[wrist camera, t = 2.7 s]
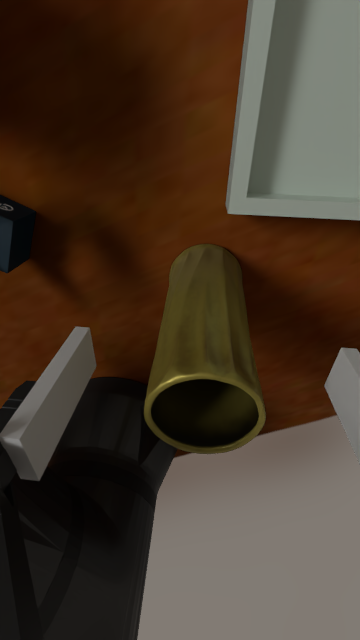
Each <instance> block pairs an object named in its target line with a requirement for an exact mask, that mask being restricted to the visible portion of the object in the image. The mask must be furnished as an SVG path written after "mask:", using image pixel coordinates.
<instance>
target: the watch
mask: <svg viewBox="0 0 360 640" xmlns="http://www.w3.org/2000/svg"><path fill="white" fill-rule="evenodd" d="M35 216H36V211H34V210H32V209H30V208H28V207H25V206H23V205H21V204H19V203H17V202H15V201H12V200H10V199H8V198H6V197H4V196H2V195H0V270H1V271H3V272H5V273H9V272H10V271H12V270H13V269H14V268H16V267H17V266H19V265H20V264H22V263H23V262H25V261H26V260H28V259H29V255H30V249H31V242H32V236H33V229H34V223H35Z"/></svg>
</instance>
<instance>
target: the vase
mask: <svg viewBox="0 0 360 640" xmlns="http://www.w3.org/2000/svg"><path fill="white" fill-rule="evenodd" d="M242 278H243V277H242V271H241V267H240V265H239V262H238V261H237V259H236V258H235V257H234V256H233V255H232V254H231V253H230V252H228V251H227V250H226V249H224V248H222V247H220V246H217V245H213V244H200V245H196V246H192V247H190V248H188V249H186V250H185V251H183V252H182V253H181V254H180V255H179V256H178V257H177V258H176V260H175V261H174V262H173V264H172V267H171V270H170V275H169V283H170V285H169V289H168V294H167V298H166V303H165V308H164V313H163V318H162V323H161V328H160V332H159V337H158V343H157V348H156V353H155V357H154V361H153V365H152V369H151V373H150V378H149V383H148V388H147V394H146V399H145V406H144V418H145V421H146V423H147V425H148V426H149V428H150V429H151V430H152V432H153V433H154V434H155V435H156V436H157V437H159V438H160V439H161V440H163V441H164V442H166V443H168V444H170V445H172V446H174V447H176V448H178V449H180V450H183V451H187V452H192V453H199V454H213V453H224V452H228V451H231V450H234V449H237V448H239V447H241V446H243V445H245V444H246V443H248V442H249V441H251V440H252V439H253V438H255V437H256V436H257V435H258V433H259V432H260V431H261V429H262V428H263V426H264V423H265V420H266V411H265V405H264V400H263V395H262V391H261V386H260V382H259V378H258V374H257V369H256V365H255V360H254V355H253V350H252V345H251V341H250V335H249V327H248V319H247V311H246V304H245V296H244V290H243V285H242Z"/></svg>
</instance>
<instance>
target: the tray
mask: <svg viewBox="0 0 360 640" xmlns="http://www.w3.org/2000/svg"><path fill="white" fill-rule="evenodd" d="M226 208H227V211H228V214H243V215H263V216H283V217H303V218H323V219H343V220H360V0H249V1H248V10H247V19H246V28H245V36H244V45H243V54H242V63H241V72H240V81H239V90H238V99H237V107H236V116H235V125H234V134H233V143H232V152H231V161H230V170H229V179H228V187H227V196H226Z"/></svg>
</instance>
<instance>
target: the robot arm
mask: <svg viewBox="0 0 360 640" xmlns="http://www.w3.org/2000/svg"><path fill="white" fill-rule="evenodd" d="M95 368H96V360H95V355H94V349H93V344H92V338H91V333H90V328H86V327H75V328H74V330H73V331H72V333H71V334H70V335H69V337H68V338H67V340H66V341H65V342H64V344H63V345H62V347H61V348H60V350H59V351H58V352H57V354H56V355H55V357H54V358H53V359H52V361H51V362H50V364H49V365H48V367H47V368H46V369H45V371H44V372H43V374H42V375H41V376H40V378H39V379H38V381H37V382H36V381H26V382H24V383H23V384H22V385H20V386H19V387H18V388H16V389H15V391H14V392H13V393H12V394H11V396H10V397H9V398H8V400H7V401H6V402H5V404H4V405H3V406H2V409H0V640H137V636H138V629H139V622H140V615H141V607H142V600H143V593H144V586H145V578H146V571H147V564H148V556H149V549H150V542H151V534H152V527H153V520H154V512H155V505H156V498H157V493H158V490H159V488H160V486H161V484H162V482H163V479H164V477H165V475H166V473H167V471H168V469H169V466H170V464H171V462H172V460H173V458H174V456H175V453H176V451H177V449H178V448H176V447H174V446H172V445H170V444H168V443H166V442H164V441H163V440H161V439H160V438H159V437H157V436H156V435H155V434H154V433H153V432H152V430H151V429H150V428H149V426H148V425H147V423H146V421H145V418H144V406H145V399H146V394H147V388H148V386H146V385H144V384H141V383H138V382H135V381H132V380H127V379H122V378H113V377H102V378H94V379H90V378H91V376H92V374H93V372H94V370H95ZM324 386H325V389H326V391H327V393H328V395H329V397H330V400H331V402H332V404H333V406H334V409H335V411H336V413H337V415H338V417H339V420H340V422H341V424H342V426H343V428H344V431H345V433H346V435H347V437H348V439H349V442H350V444H351V446H352V448H353V450H354V453H355V455H356V457H357V459H358V462H359V464H360V353H359V351H358V350H357V349H353V348H341V349H340V351H339V354H338V356H337V358H336V360H335V363H334V365H333V367H332V369H331V371H330V374H329V376H328V378H327V380H326V383H325V385H324Z"/></svg>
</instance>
